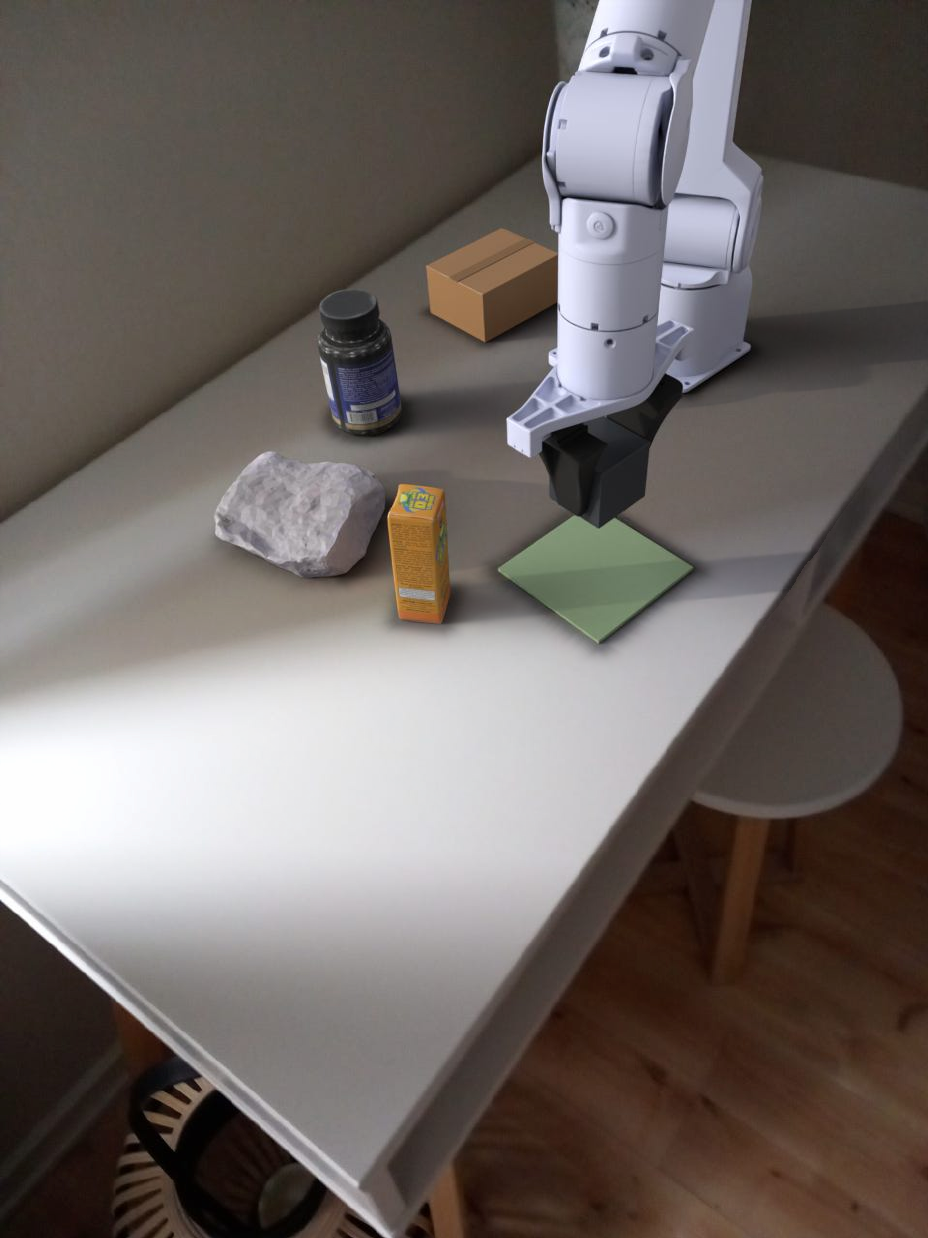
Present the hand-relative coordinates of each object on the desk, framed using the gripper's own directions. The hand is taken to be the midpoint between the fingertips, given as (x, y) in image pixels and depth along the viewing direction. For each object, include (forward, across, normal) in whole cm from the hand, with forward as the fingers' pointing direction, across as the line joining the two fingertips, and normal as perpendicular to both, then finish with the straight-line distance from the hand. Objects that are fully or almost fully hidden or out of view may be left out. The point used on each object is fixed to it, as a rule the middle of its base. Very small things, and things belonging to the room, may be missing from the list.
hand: (598, 489), depth 65 cm
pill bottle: (+8, 0, -27) cm, 28 cm away
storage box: (+8, -20, -32) cm, 39 cm away
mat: (+8, 0, 0) cm, 8 cm away
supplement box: (+8, +11, -6) cm, 15 cm away
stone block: (+8, +13, -19) cm, 24 cm away
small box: (+1, 0, 0) cm, 1 cm away
